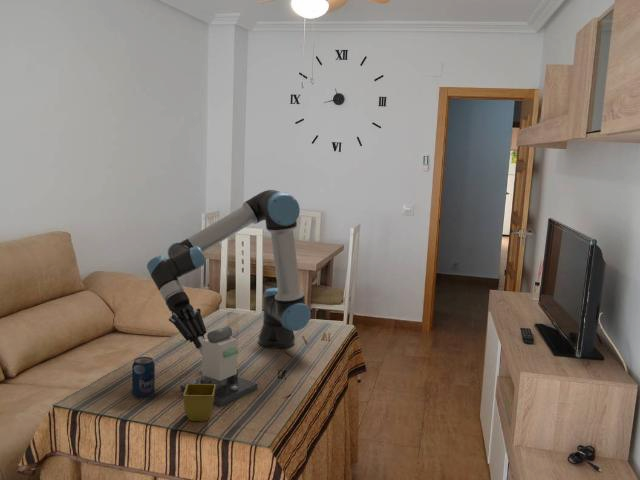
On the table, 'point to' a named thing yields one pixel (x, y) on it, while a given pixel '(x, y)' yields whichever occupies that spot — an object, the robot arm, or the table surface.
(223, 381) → the levelling base
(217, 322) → the table surface
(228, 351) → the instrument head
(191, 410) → the flower pot
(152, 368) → the soda can
